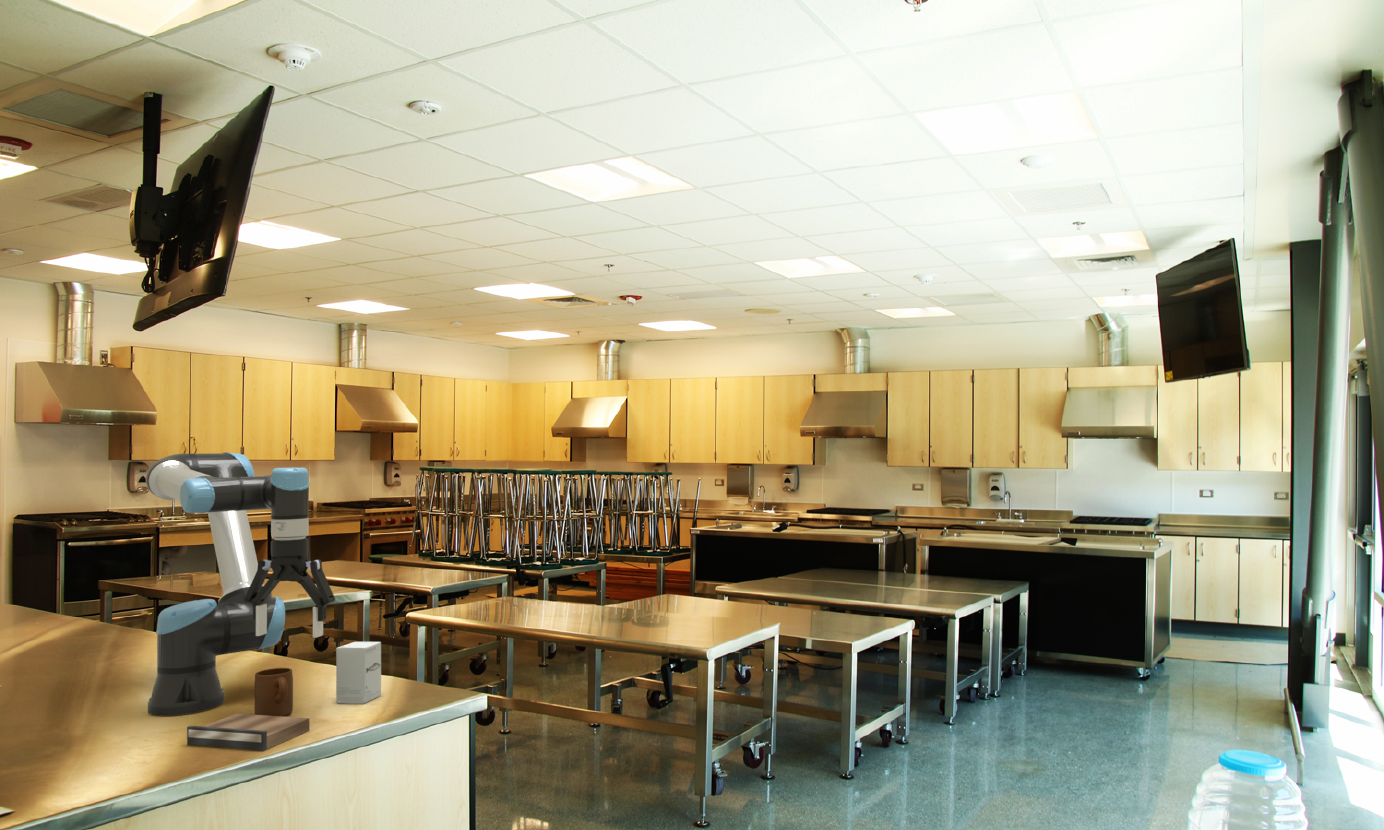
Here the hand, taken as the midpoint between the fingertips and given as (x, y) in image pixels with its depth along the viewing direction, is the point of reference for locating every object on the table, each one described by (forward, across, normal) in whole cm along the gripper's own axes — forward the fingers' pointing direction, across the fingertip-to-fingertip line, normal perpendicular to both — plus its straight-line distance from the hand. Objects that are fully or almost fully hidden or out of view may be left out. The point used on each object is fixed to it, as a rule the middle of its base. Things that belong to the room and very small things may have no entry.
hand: (289, 635), depth 195 cm
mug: (+17, -2, -2) cm, 17 cm away
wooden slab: (+17, +2, -15) cm, 23 cm away
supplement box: (+17, +9, +13) cm, 23 cm away
